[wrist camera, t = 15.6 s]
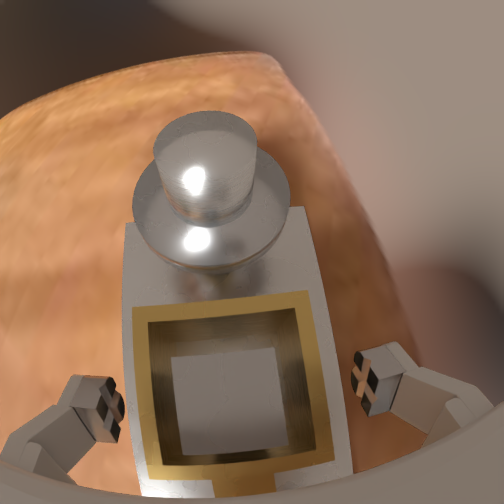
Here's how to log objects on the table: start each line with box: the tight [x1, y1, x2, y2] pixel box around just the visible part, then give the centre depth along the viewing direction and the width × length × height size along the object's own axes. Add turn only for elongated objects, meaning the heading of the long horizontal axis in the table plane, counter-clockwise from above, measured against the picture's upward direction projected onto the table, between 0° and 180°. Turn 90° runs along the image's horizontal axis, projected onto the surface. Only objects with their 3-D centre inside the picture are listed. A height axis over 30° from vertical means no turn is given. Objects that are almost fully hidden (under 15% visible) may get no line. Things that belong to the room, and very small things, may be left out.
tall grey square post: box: [171, 347, 289, 455], centre depth 13 cm, size 4×4×10 cm
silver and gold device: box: [122, 111, 353, 498], centre depth 14 cm, size 26×15×12 cm, turn 7°
